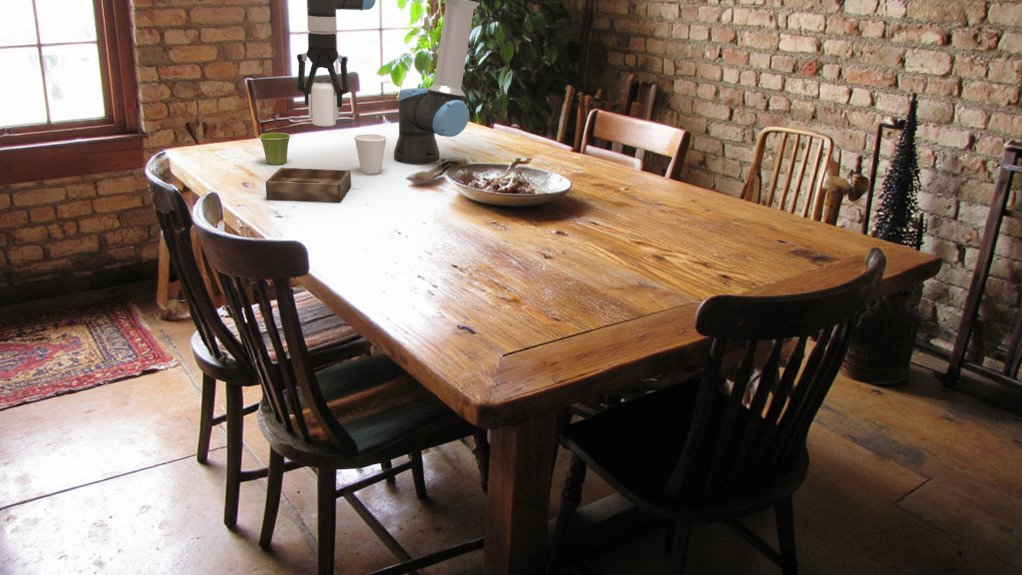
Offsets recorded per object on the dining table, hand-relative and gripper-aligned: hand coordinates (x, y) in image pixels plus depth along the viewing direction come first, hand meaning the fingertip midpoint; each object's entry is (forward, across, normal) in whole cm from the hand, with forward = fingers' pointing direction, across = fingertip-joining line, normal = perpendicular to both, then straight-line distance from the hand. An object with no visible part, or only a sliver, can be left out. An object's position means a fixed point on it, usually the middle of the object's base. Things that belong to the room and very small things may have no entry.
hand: (324, 117), depth 237 cm
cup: (+20, -10, -18) cm, 29 cm away
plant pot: (+20, +21, -25) cm, 38 cm away
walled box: (+20, +3, +8) cm, 22 cm away
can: (+2, 0, 0) cm, 2 cm away
